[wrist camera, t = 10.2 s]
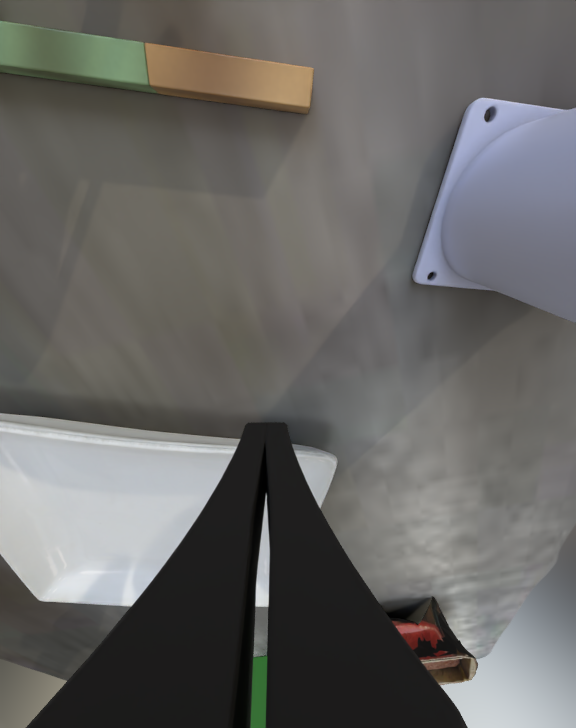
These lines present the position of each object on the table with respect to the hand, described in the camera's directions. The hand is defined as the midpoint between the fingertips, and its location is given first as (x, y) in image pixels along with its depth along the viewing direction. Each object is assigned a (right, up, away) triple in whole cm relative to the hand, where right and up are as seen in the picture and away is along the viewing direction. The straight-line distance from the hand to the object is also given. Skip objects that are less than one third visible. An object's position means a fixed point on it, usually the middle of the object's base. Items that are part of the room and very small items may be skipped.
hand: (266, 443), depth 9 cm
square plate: (-11, -12, +18) cm, 24 cm away
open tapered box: (+19, -39, +36) cm, 56 cm away
